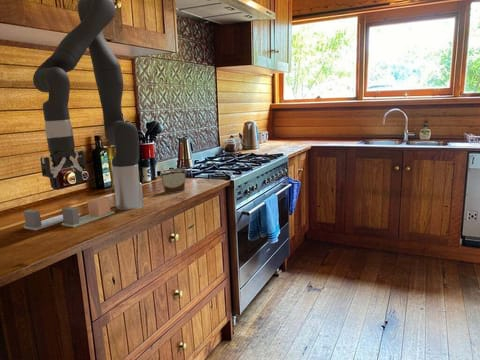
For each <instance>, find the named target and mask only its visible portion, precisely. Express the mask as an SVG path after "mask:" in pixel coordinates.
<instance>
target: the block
mask: <svg viewBox="0 0 480 360" xmlns="http://www.w3.org/2000/svg"><path fill="white" fill-rule="evenodd" d="M87 208H88V214H89V215H94V216H102V215H104V214H107V213H110V211H111V206H110V199H109V198H104V197H96V198H92V199H89V200H87Z"/></svg>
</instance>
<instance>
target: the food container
mask: <svg viewBox="0 0 480 360" xmlns="http://www.w3.org/2000/svg"><path fill="white" fill-rule="evenodd" d="M186 174H187V170H186V168H169V169H167V168H166V169H163V170H161V171H160V174H159V177H160V178H161V182H162V187H163V192H164V195H167V194H168V195H169V194H173V193H181V192H185V190H186V189H185V188H186Z"/></svg>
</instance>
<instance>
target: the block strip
mask: <svg viewBox="0 0 480 360" xmlns="http://www.w3.org/2000/svg"><path fill="white" fill-rule="evenodd" d="M61 213H62V214H63V222H60V223H61V226H64V227H65V226H66V227H71V228H76V227H80V226H82V225H85V224H87V223H90V222H93V221H97V220H99V219H102V218H105V217H108V216H110V215H114V214H116V212H115V211H114V210H110V213H107V214H104V215H102V216H94V215H89V213H88V214H86V215H81V216H79V217H78V214H79V210H78V207H71V206H64V207H62V208H61ZM62 214H61V215H62Z"/></svg>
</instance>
